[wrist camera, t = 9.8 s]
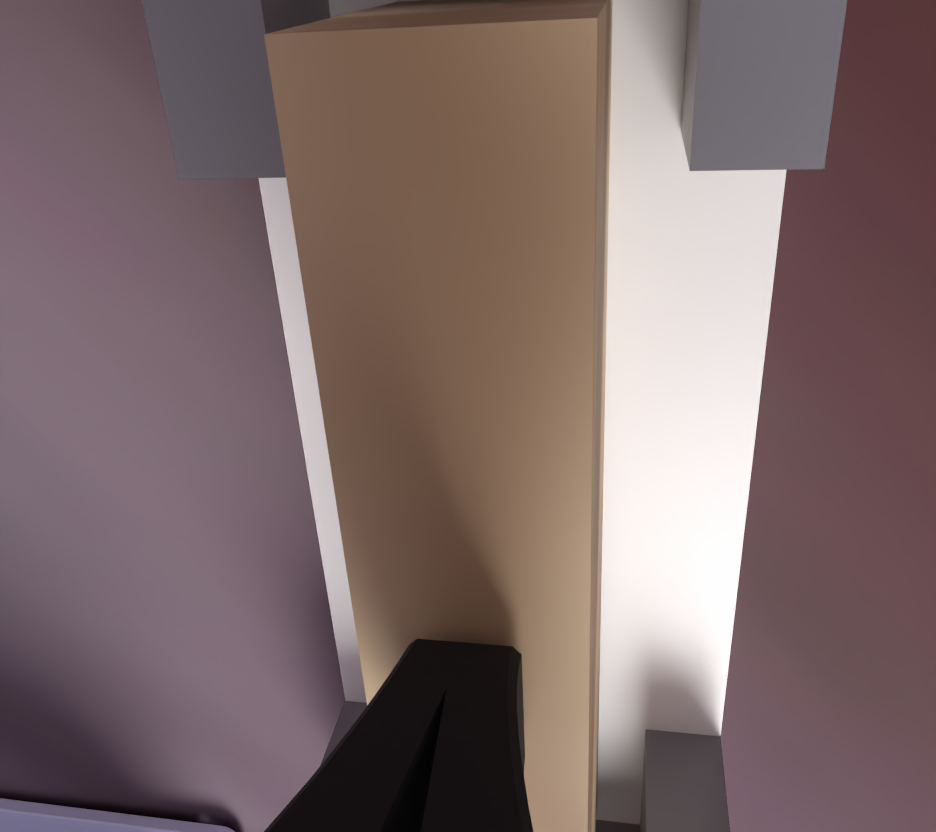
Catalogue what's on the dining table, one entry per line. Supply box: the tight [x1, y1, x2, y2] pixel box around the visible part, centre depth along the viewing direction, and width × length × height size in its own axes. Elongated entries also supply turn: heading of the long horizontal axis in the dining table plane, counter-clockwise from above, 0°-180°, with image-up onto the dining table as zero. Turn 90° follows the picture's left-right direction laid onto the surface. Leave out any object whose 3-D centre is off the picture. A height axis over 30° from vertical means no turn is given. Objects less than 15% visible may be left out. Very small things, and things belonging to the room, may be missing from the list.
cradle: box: [141, 0, 847, 832], centre depth 15 cm, size 8×21×4 cm, turn 3°
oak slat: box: [264, 0, 613, 832], centre depth 14 cm, size 3×16×5 cm, turn 4°
